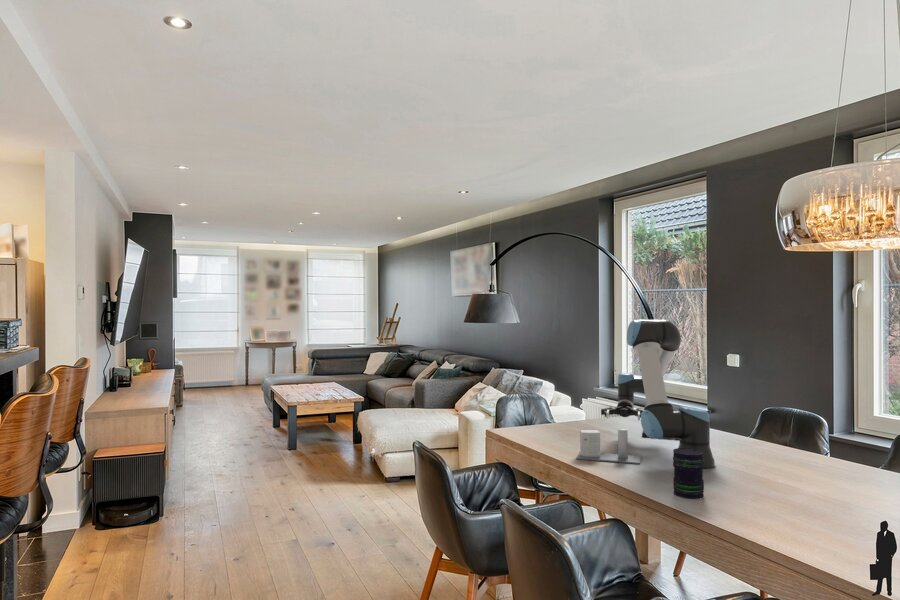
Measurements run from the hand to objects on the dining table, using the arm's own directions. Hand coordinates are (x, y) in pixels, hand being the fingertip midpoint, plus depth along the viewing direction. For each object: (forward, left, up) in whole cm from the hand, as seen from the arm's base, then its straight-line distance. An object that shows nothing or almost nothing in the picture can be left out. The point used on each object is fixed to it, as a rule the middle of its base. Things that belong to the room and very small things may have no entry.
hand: (622, 416), depth 260 cm
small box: (+1, +18, -16) cm, 24 cm away
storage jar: (-56, +22, -17) cm, 62 cm away
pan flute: (+20, -50, -17) cm, 56 cm away
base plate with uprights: (-5, +13, -16) cm, 21 cm away
